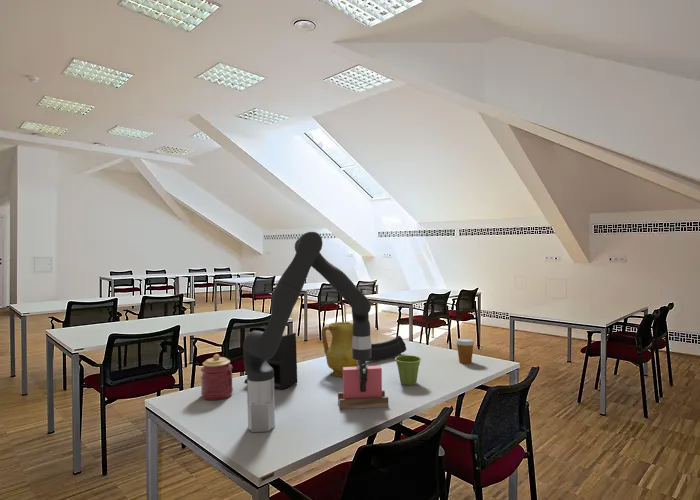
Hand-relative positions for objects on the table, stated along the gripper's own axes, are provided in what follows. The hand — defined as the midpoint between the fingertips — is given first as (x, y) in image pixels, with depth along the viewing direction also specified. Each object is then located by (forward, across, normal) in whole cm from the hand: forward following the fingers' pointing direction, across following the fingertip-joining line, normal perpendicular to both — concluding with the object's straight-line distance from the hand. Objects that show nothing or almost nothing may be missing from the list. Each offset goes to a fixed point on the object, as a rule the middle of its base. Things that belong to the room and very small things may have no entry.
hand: (362, 389), depth 175 cm
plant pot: (+6, +23, -24) cm, 34 cm away
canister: (+6, +19, +60) cm, 63 cm away
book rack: (+6, 0, 0) cm, 6 cm away
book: (+3, 0, 0) cm, 3 cm away
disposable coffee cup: (+6, +53, -62) cm, 82 cm away
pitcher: (+6, +44, +4) cm, 45 cm away
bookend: (+6, +33, +38) cm, 51 cm away
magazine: (+6, +68, -22) cm, 71 cm away
